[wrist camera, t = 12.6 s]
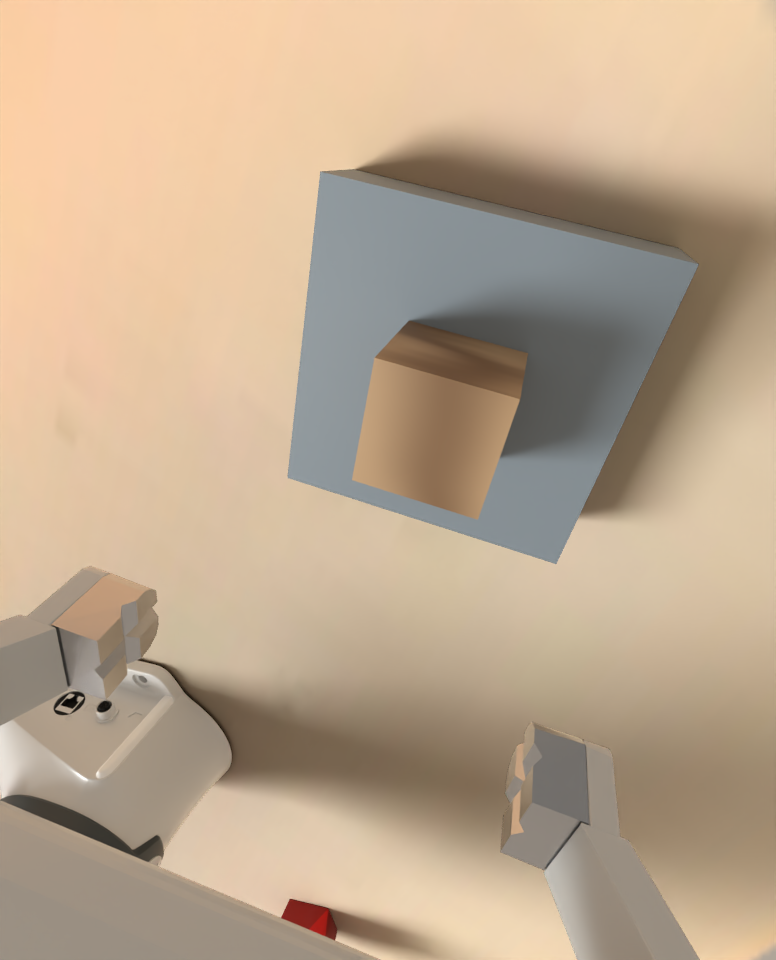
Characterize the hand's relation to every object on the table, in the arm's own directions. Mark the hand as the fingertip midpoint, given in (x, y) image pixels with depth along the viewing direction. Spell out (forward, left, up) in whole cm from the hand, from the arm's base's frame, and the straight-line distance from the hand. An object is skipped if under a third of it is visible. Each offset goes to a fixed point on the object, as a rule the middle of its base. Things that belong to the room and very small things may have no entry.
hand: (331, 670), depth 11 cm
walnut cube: (0, 0, -15) cm, 15 cm away
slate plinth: (0, 0, -19) cm, 19 cm away
